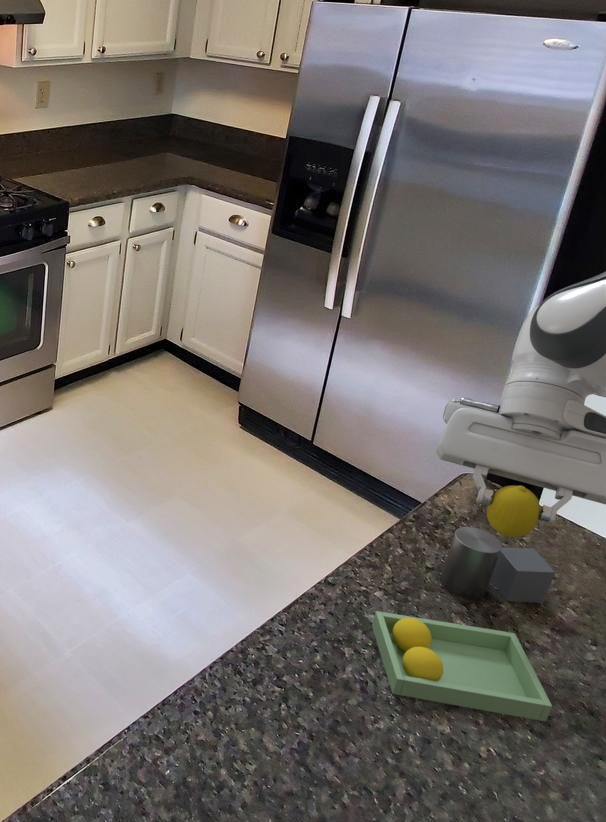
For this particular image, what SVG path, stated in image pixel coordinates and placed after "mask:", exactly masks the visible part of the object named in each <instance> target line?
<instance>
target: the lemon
mask: <svg viewBox="0 0 606 822" xmlns="http://www.w3.org/2000/svg"><path fill="white" fill-rule="evenodd" d="M491 498H492V500H491V503H490V504H489V505H487V508H486V518H487V521H488V523H489V524H490V526H491V527H492V528H493V530H495V531H496V532H497V533H499V534H500V535H501V536H502V537H504V538H520V537H524V536H526V535H528V534H530V533H531V532H532V531H534V529H535V528H536V526H537V525H538V522H539V521H540V520H539V517H540V510H541V504H540V500H539V499H538V497H537V496H536V495H535V494H534V493H533V491H531V490H530V489H528V488H526V486H523V485H517V484H515V485H512V484H511V485H506V486H502V487H501V488H499V489H498V490H496V492H494V493H493V496H492V497H491Z"/></svg>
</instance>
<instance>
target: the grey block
mask: <svg viewBox="0 0 606 822" xmlns="http://www.w3.org/2000/svg"><path fill="white" fill-rule="evenodd" d="M555 576H556V571H555V569H553V567H552V566H550V565H549V564H548V562H547V561H546V559H544V558H543V556H542V555H540V553H539V552H538V551H537V550H536V549H535V548H532V547H531V548H530V547H529V548H528V547H507V546H505V547H503V546H502V549H501V552H500V555H499V557H498V560H497V563H496V566H495V568H494V571H493V574H492V577H491V579H490V582H491V584H492V585H493V586H494V588H496V590H497V591H498V593H499V594H500V595H501V596H502V598H503V599H504V600H505V602H518V603H539V604H540V606H543V604H544V602H545V600H546V598H547V594H548V592H549V589H550V587H551V585H552V582H553V580H554V577H555Z"/></svg>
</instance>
